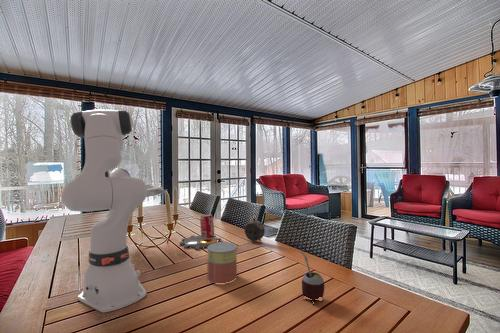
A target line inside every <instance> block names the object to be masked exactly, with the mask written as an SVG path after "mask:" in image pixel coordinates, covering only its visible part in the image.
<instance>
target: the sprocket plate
mask: <svg viewBox="0 0 500 333" xmlns="http://www.w3.org/2000/svg"><path fill="white" fill-rule="evenodd" d="M215 237H216V238H215ZM217 240H221V241H222V237H220V238H219V237H218V238H217V235H214V238H213V239H211V240H203V239H202V238H201V235H189V238H188V237H187V238H186V237H185V238H182V239H181V241H179V244H180V245H181V246H183V249H184V248H186V249H185V250H188V249H194V250H195V249H199V250H200V249H204V248H203V247H208V246H209V245H210V244H213V243H217ZM182 241H184V242H182ZM180 245H179V246H180ZM184 245H185V246H184ZM189 247H191V248H189ZM187 248H188V249H187Z"/></svg>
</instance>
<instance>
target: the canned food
mask: <svg viewBox="0 0 500 333" xmlns="http://www.w3.org/2000/svg"><path fill="white" fill-rule="evenodd" d="M237 249H238V248H237V245H236V244H235V243H233V242H230V241H229V242H227V241H219V242H217V243H213V244H210V245H209V246H208V247H207V248H206V250H207V254H206V255H207V260H206V261H207V268H206V269H207V270H206V271H207V273H206V274H207V276H206V277H207V278H208V280H209V281H210V282H213V283H226V282H230V281H232V280H234V279H235V278H236V276H237V271H238V270H237V269H238V268H237V263H238V262H237V260H238V259H237V255H238V254H237ZM207 278H206V279H207ZM236 279H237V278H236ZM208 280H207V281H208ZM209 281H208V282H209ZM210 282H209V283H210Z"/></svg>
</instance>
